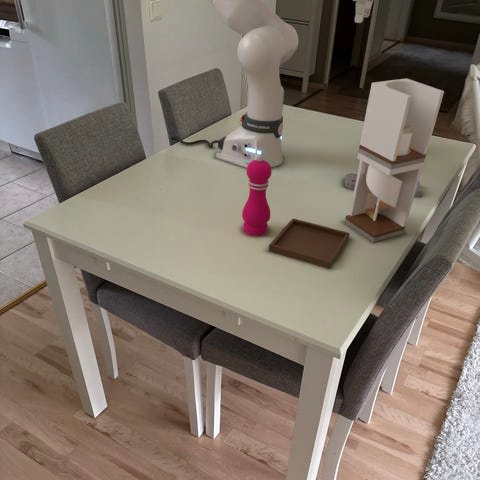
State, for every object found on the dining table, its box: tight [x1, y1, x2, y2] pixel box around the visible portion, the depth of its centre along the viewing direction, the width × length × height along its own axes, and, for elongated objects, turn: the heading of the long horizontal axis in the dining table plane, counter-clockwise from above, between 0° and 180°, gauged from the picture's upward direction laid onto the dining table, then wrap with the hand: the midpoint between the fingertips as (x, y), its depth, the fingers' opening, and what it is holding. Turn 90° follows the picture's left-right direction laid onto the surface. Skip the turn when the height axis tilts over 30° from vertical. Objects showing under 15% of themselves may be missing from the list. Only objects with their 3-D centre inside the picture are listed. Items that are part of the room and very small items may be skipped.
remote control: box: [344, 172, 422, 198], centre depth 149 cm, size 8×23×2 cm, turn 79°
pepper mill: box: [241, 154, 273, 237], centre depth 120 cm, size 7×7×20 cm
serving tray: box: [268, 217, 350, 269], centre depth 121 cm, size 16×16×2 cm
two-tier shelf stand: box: [344, 78, 445, 243], centre depth 119 cm, size 11×11×35 cm
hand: (361, 19), depth 119 cm, fingers open, 8 cm apart
